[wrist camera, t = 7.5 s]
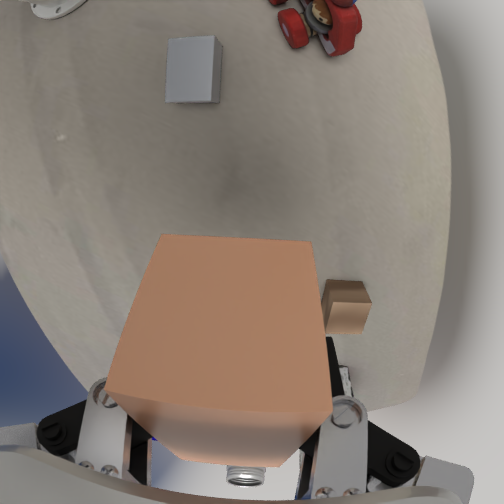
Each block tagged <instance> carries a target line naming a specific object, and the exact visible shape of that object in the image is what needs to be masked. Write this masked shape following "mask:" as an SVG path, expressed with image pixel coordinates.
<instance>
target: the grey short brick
mask: <svg viewBox="0 0 504 504" xmlns="http://www.w3.org/2000/svg"><path fill="white" fill-rule="evenodd" d="M222 47H223V46H222V45H221V43H220V42H219V41H218V39H217V38H216V37H215V35H212V36H193V37H181V38H171V39H168V51H167V67H166V89H165V103H220V82H221V64H222Z"/></svg>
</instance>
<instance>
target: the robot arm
mask: <svg viewBox="0 0 504 504" xmlns="http://www.w3.org/2000/svg"><path fill="white" fill-rule="evenodd" d="M19 1H24V2H28V3H31V9H32V11H33V13H34V14H35V15H36V16H37V17H39V18H43V19H56V18H59V17H62V16H64V15H66V14H68V13H70V12H72V11H73V10H75V9H76V8H78V7H79V6H80V5H81V4H83V3H84V2H85V1H86V0H19ZM326 345H327V354H328V363H329V372H330V382H331V393H332V404H333V412H332V413H331V414H330V415H329V416H328V417H327V419H326V420H325V421H324V422H323V423H322V424H321V425H320V426H319V427H318V429H317V430H316V431H315V432H314V433H313V434H312V435H311V436H310V437H309V438H308V439H307V440H306V441H305V442H304V443H303V444H302V445H301V446H300V447H299V449H300V450H301V451H303V455H302V461H301V467H300V473H299V478H298V484H297V489H296V495H295V499H294V500H285V501H263V500H238V499H225V498H215V497H206V496H198V495H191V494H185V493H179V492H173V491H168V490H163V489H159V488H154V487H151V453H152V452H151V451H152V437H153V436H152V435H151V434H149V433H148V432H147V431H146V430H145V429H144V428H143V427H141V426H140V425H139V424H138V423H137V422H136V421H135V420H134V419H133V418H132V417H131V416H130V415H128V414H127V413H126V412H125V411H124V410H123V409H122V408H121V407H120V406H119V405H118V404H117V403H116V402H115V401H114V400H113V399H112V398H111V397H110V396H109V395H108V394H107V393H106V391H105V390H104V387H105V384H106V380H107V377H106V378H103V379H100V380H98V381H97V382H95V383H94V384H93V385H92V387H91V388H90V391H89V394H88V398H87V400H84V401H82V402H80V403H77V404H75V405H73V406H71V407H68V408H66V409H63V410H61V411H59V412H56V413H54V414H52V415H49V416H47V417H45V418H44V419H42V421H41V422H40V423H39V424H38V425H36V424H35V423H28V424H22V425H15V426H8V427H0V504H468V503H469V500H470V496H471V492H472V488H473V485H474V476H473V473H472V471H471V470H470V469H469V468H467V467H465V466H461V465H457V464H453V463H449V462H446V461H442V460H439V459H436V458H432V457H429V456H425V457H421V456H419V455H418V453H417V452H416V450H414V449H413V448H412V447H411V446H409V445H407V444H406V443H404V442H402V441H401V440H399V439H397V438H396V437H394V436H392V435H391V434H389V433H387V432H386V431H384V430H383V429H381V428H379V427H378V426H376V425H375V424H373V423H372V422H370V421H368V418H367V417H368V415H367V410H366V408H365V406H364V405H363V403H361V402H360V401H359V400H358V399H356V398H354V397H351V396H347V395H345V393H344V388H343V383H342V379H341V374H340V369H339V365H338V360H337V356H336V351H335V347H334V343H333V339H332V338H331V337H326Z"/></svg>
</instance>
